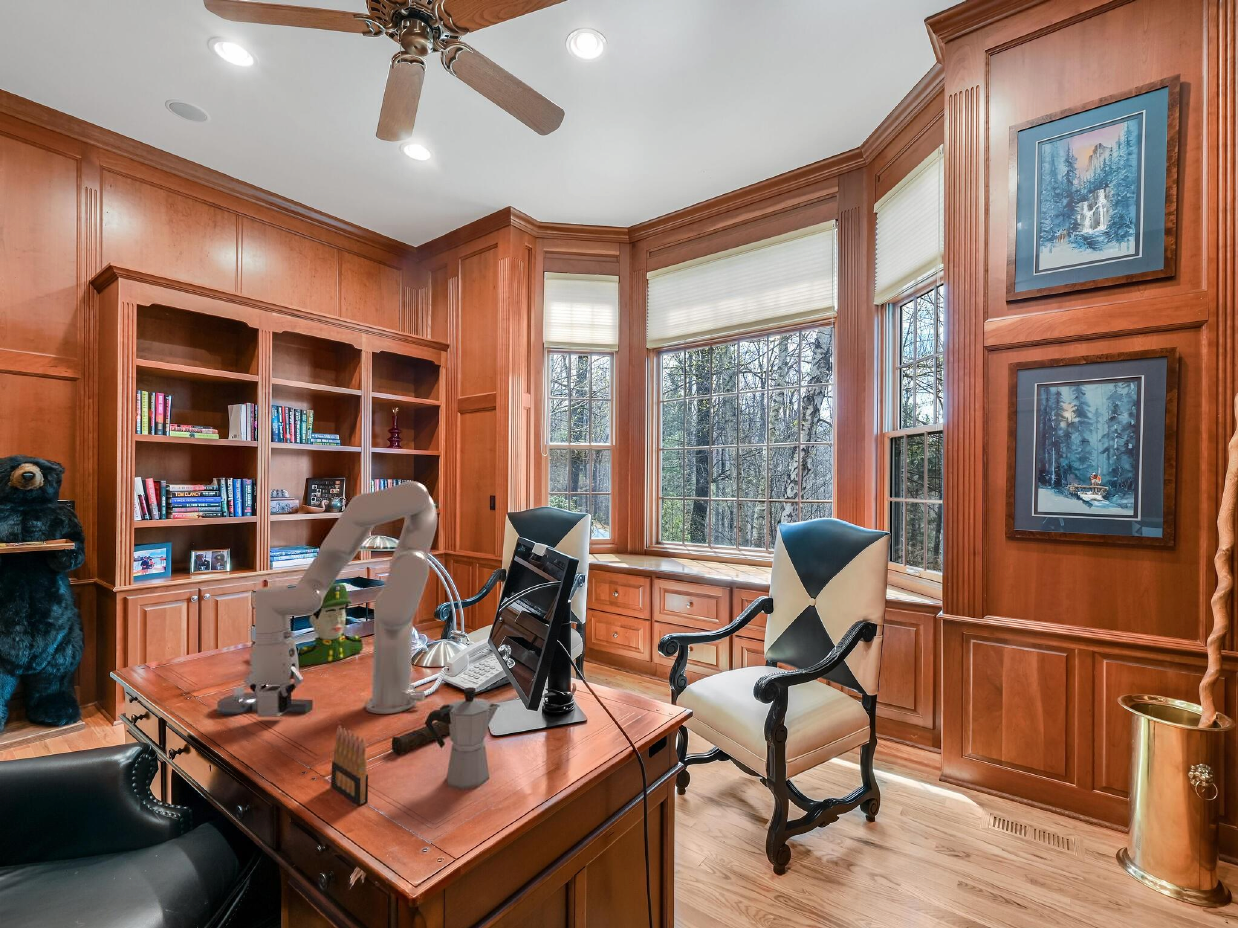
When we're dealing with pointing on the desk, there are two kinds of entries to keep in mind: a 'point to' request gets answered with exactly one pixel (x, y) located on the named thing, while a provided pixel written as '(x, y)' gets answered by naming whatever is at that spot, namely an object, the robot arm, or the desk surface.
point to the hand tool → (417, 738)
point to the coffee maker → (465, 738)
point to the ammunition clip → (350, 767)
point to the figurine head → (330, 630)
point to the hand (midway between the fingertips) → (274, 709)
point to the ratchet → (254, 704)
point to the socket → (269, 701)
